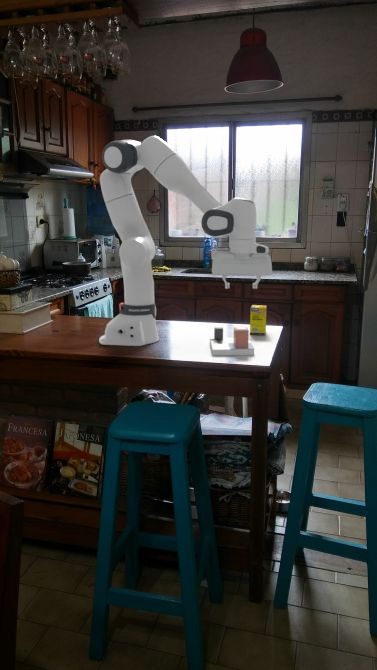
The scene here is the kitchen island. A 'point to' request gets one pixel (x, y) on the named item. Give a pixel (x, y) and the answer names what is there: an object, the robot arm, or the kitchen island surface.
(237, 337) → the cap
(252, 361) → the kitchen island surface
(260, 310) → the supplement box
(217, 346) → the panel
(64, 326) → the kitchen island surface
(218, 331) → the breaker
